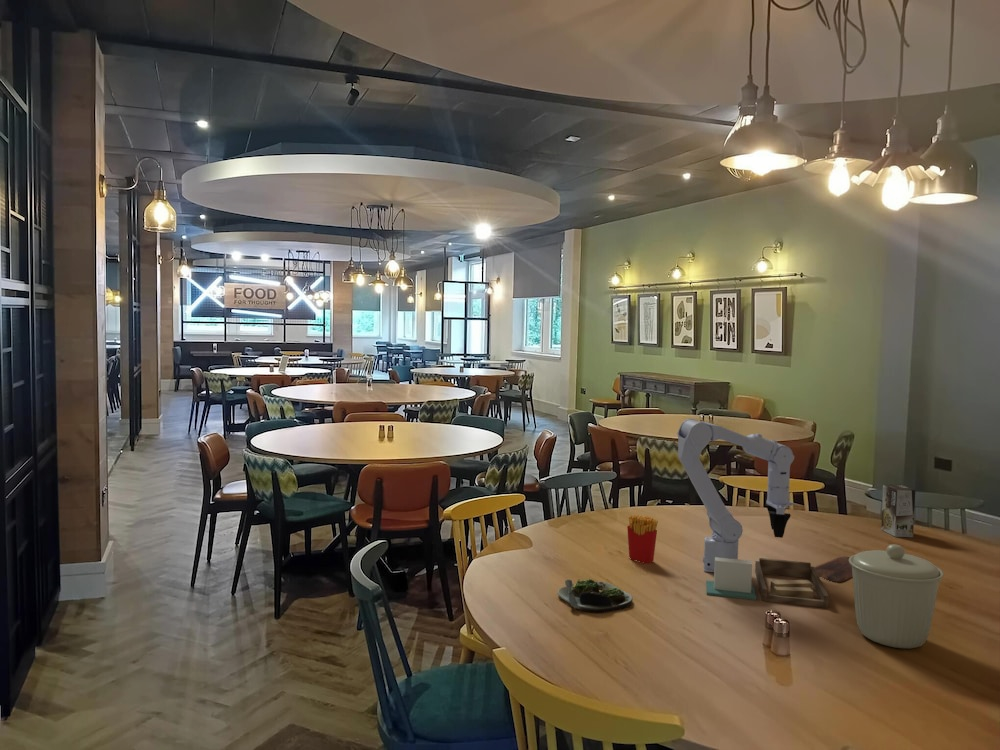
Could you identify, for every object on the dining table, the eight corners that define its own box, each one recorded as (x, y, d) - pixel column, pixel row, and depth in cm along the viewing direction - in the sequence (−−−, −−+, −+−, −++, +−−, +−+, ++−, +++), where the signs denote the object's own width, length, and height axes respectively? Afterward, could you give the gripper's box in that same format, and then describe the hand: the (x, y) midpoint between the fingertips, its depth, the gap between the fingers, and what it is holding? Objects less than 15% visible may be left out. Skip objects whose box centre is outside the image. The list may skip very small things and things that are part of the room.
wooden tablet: (842, 551, 212) (877, 556, 205) (842, 559, 212) (877, 563, 205) (803, 571, 195) (840, 576, 187) (804, 579, 195) (840, 585, 187)
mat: (706, 594, 178) (706, 592, 178) (706, 582, 187) (706, 580, 187) (756, 600, 175) (756, 597, 175) (753, 587, 183) (753, 585, 183)
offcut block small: (776, 601, 175) (776, 589, 175) (773, 597, 177) (773, 586, 177) (813, 603, 174) (813, 591, 174) (809, 599, 177) (809, 587, 176)
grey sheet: (714, 589, 180) (715, 560, 180) (714, 585, 183) (714, 557, 183) (750, 593, 178) (752, 564, 177) (750, 588, 181) (751, 560, 180)
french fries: (624, 558, 206) (625, 515, 205) (631, 555, 209) (632, 512, 208) (652, 565, 200) (653, 521, 199) (659, 561, 203) (660, 518, 202)
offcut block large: (775, 597, 177) (775, 584, 177) (770, 593, 180) (770, 580, 180) (812, 596, 178) (812, 583, 178) (806, 592, 181) (807, 579, 181)
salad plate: (539, 591, 180) (540, 573, 180) (597, 581, 188) (598, 564, 187) (579, 619, 162) (580, 600, 162) (641, 607, 170) (642, 588, 170)
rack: (762, 600, 174) (762, 585, 174) (755, 571, 196) (755, 557, 196) (828, 608, 170) (828, 592, 170) (813, 577, 192) (814, 563, 192)
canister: (939, 665, 141) (945, 564, 140) (841, 643, 151) (845, 548, 149) (939, 633, 156) (944, 541, 155) (849, 615, 166) (853, 528, 165)
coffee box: (914, 537, 232) (916, 489, 231) (894, 537, 232) (897, 489, 231) (898, 529, 241) (901, 483, 240) (880, 529, 241) (882, 483, 240)
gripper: (797, 492, 189) (795, 541, 190) (790, 481, 203) (789, 527, 204) (769, 490, 191) (768, 539, 192) (764, 480, 205) (763, 525, 205)
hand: (777, 533), depth 198 cm, fingers open, 7 cm apart
